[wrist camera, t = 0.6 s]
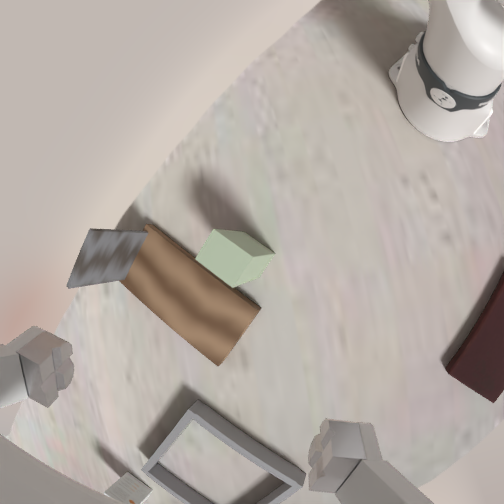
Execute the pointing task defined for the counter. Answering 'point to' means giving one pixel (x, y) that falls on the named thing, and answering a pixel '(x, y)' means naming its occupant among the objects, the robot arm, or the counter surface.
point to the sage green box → (234, 256)
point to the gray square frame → (237, 442)
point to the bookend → (168, 286)
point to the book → (483, 351)
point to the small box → (129, 490)
